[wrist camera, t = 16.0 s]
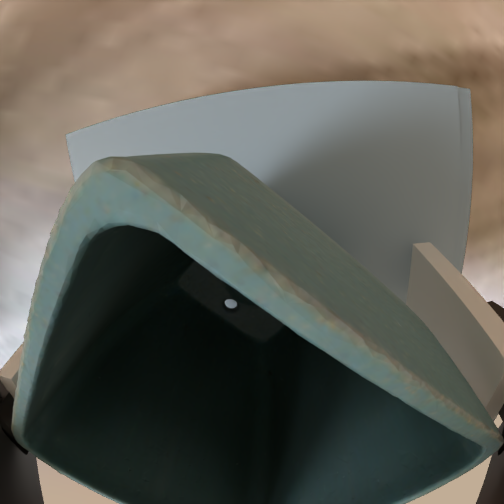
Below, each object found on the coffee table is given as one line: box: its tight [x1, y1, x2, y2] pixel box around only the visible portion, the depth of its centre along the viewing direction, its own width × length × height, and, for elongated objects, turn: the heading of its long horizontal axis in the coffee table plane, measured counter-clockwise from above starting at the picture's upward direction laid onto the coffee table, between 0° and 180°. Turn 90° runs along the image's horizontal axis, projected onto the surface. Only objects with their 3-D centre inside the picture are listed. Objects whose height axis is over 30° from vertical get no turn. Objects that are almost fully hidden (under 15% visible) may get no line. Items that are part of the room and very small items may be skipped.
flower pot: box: [11, 153, 504, 504], centre depth 9 cm, size 9×9×9 cm
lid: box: [66, 81, 473, 308], centre depth 14 cm, size 17×14×2 cm
